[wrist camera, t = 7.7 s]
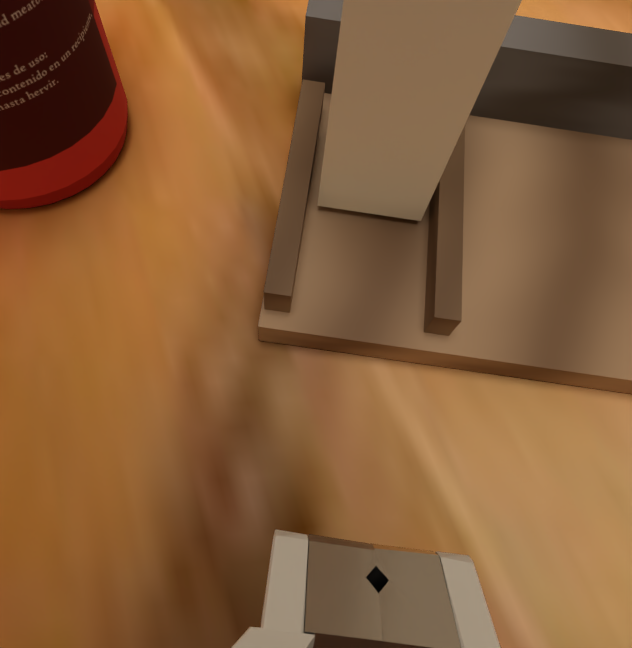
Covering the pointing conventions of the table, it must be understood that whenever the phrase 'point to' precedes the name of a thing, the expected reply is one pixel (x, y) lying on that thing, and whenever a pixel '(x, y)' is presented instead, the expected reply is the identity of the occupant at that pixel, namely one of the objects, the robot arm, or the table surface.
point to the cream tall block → (404, 98)
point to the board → (476, 223)
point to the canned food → (56, 101)
